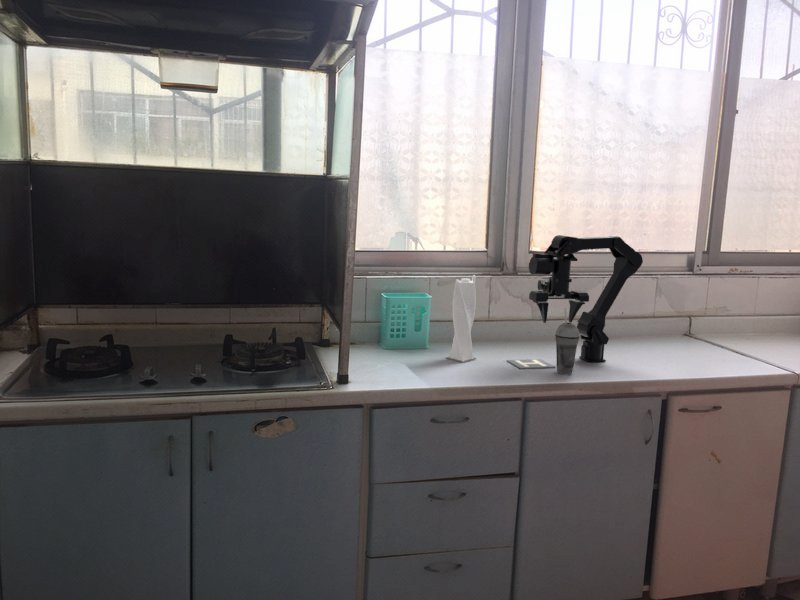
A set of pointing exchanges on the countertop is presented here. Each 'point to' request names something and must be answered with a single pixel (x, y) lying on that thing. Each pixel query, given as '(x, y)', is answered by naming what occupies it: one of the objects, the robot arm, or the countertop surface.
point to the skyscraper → (463, 319)
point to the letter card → (530, 363)
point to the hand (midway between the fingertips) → (557, 322)
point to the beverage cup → (566, 346)
